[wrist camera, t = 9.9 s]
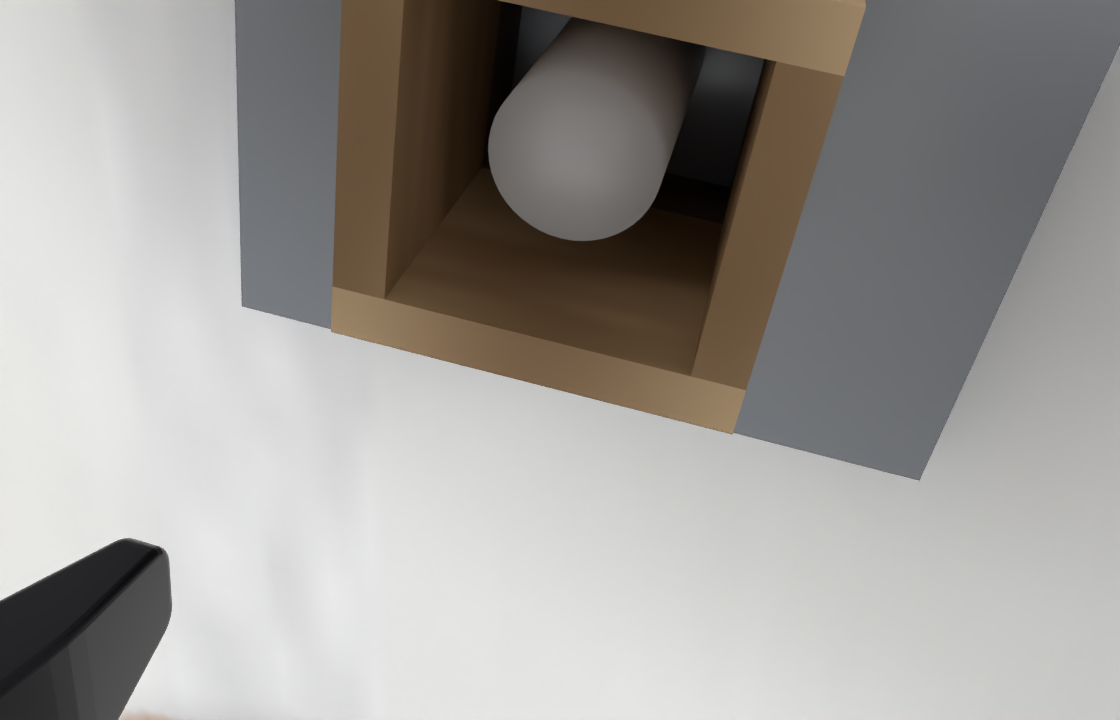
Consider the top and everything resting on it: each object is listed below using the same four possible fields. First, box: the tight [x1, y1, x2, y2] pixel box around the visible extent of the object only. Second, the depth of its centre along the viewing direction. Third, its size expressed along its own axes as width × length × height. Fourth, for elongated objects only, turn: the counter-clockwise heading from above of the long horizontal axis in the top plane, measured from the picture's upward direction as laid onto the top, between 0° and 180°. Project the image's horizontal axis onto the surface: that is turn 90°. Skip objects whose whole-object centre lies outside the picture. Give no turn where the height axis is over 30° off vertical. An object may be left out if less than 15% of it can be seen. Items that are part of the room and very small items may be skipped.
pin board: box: [235, 0, 1120, 480], centre depth 15 cm, size 14×14×6 cm
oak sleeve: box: [331, 0, 866, 434], centre depth 14 cm, size 5×5×6 cm
